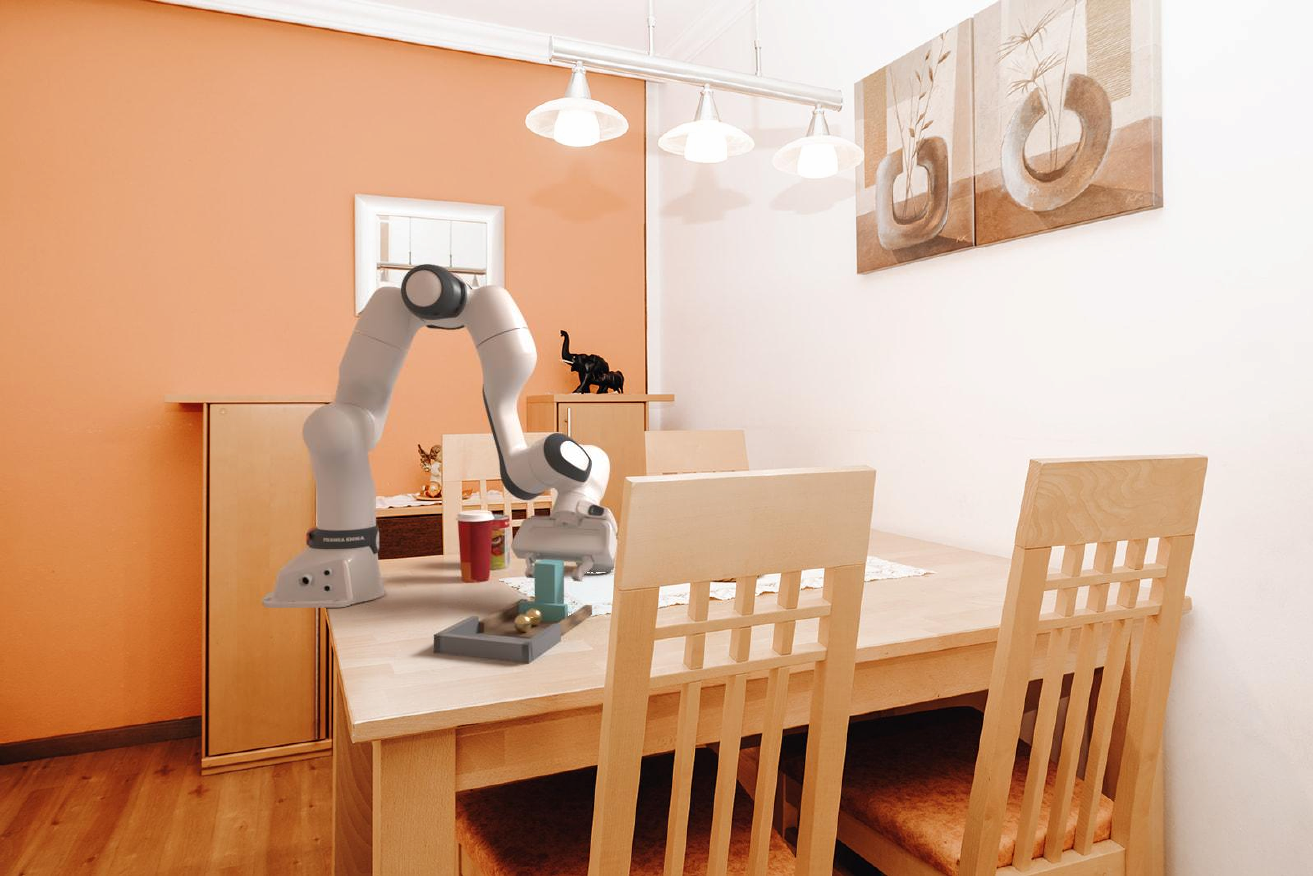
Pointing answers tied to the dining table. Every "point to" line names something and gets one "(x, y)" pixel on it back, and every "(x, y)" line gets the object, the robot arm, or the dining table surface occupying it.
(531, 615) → the ball
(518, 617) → the ball
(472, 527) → the coffee cup
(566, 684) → the dining table surface
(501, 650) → the tray
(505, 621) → the channel
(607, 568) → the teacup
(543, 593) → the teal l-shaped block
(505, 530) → the canned food
